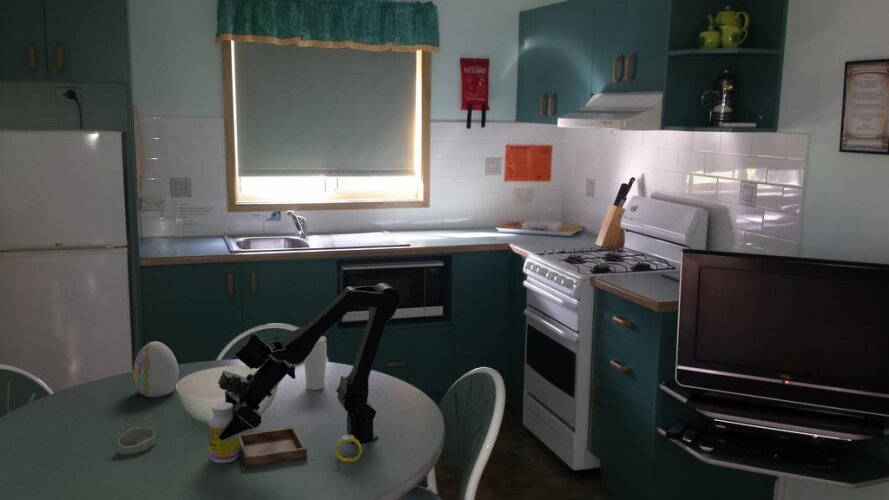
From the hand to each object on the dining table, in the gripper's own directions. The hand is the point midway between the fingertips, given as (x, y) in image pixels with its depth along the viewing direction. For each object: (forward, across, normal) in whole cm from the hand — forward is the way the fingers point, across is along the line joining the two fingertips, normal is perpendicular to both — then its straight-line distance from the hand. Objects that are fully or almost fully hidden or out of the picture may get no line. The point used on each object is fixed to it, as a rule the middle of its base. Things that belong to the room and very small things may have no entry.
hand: (217, 431), depth 191 cm
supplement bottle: (+4, 0, +6) cm, 7 cm away
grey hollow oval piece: (+17, -13, -7) cm, 23 cm away
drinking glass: (-18, -40, +28) cm, 52 cm away
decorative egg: (+13, -52, -3) cm, 54 cm away
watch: (-15, +12, +25) cm, 31 cm away
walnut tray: (-4, 0, +13) cm, 14 cm away
